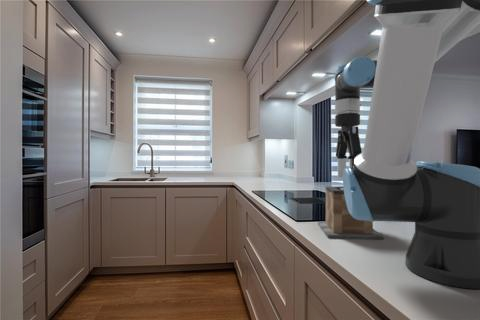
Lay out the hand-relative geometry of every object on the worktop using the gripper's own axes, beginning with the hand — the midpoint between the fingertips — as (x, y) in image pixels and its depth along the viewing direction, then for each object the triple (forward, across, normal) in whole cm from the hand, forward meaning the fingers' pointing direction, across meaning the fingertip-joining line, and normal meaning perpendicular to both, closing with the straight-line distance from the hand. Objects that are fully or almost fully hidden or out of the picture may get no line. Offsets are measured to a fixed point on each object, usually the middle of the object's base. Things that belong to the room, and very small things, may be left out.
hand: (347, 178), depth 88 cm
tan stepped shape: (+17, 0, 0) cm, 17 cm away
